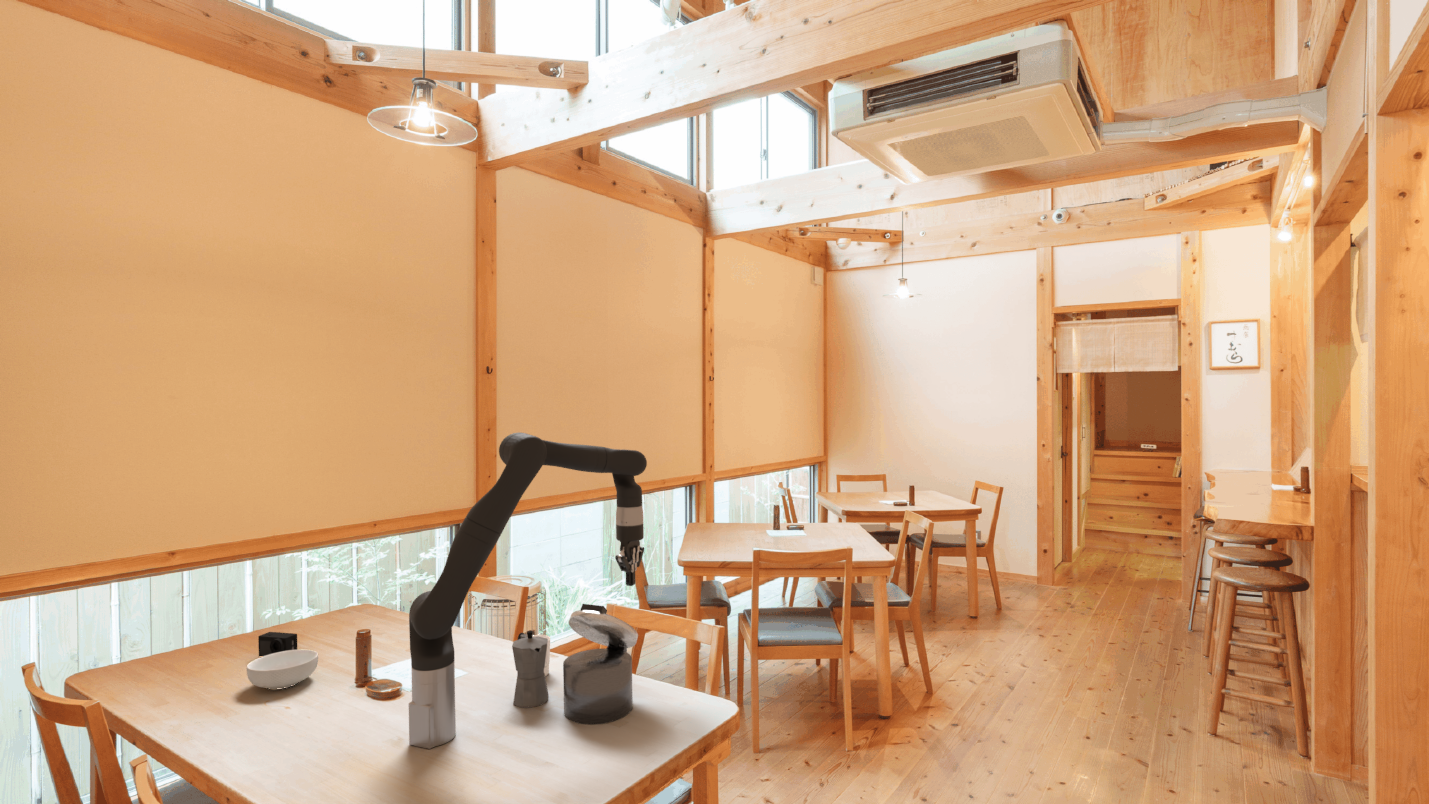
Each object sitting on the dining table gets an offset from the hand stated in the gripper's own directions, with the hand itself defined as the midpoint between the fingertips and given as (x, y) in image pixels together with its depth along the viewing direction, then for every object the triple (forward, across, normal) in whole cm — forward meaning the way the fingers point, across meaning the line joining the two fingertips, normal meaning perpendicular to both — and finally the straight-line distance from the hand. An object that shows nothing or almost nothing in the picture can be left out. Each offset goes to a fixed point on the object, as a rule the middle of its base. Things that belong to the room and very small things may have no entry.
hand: (630, 585), depth 189 cm
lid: (+8, -15, 0) cm, 17 cm away
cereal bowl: (+27, -34, +91) cm, 101 cm away
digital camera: (+27, -20, +112) cm, 117 cm away
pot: (+26, -18, 0) cm, 32 cm away
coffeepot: (+27, -19, +20) cm, 38 cm away
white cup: (+27, -5, +28) cm, 39 cm away
